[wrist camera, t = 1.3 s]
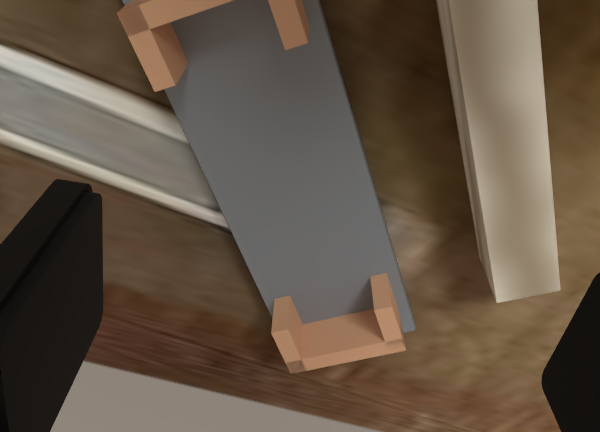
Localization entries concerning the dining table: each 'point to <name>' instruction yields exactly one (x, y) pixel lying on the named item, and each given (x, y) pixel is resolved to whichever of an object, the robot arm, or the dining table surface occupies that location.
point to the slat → (504, 140)
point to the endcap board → (282, 167)
